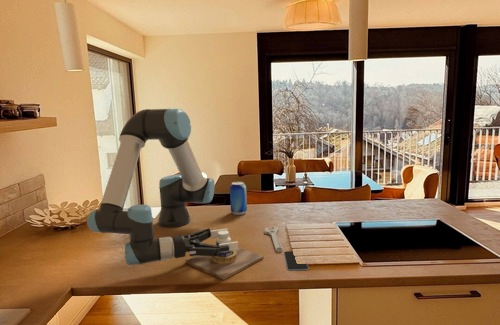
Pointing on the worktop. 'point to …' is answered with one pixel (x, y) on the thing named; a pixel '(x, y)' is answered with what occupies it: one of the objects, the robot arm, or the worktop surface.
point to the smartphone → (293, 262)
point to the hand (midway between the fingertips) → (232, 238)
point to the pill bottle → (223, 239)
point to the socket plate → (225, 263)
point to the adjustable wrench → (274, 238)
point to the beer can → (238, 198)
